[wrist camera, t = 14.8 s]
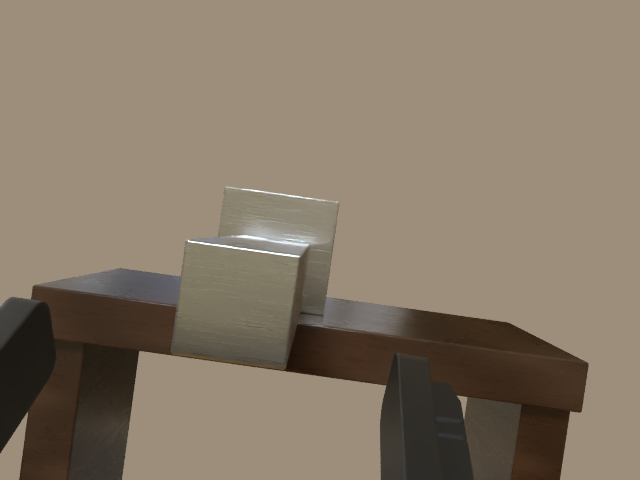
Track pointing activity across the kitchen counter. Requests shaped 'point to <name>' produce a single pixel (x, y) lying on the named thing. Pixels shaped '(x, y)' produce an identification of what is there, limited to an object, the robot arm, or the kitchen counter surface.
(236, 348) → the silver stand
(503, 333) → the dark brown arch frame
